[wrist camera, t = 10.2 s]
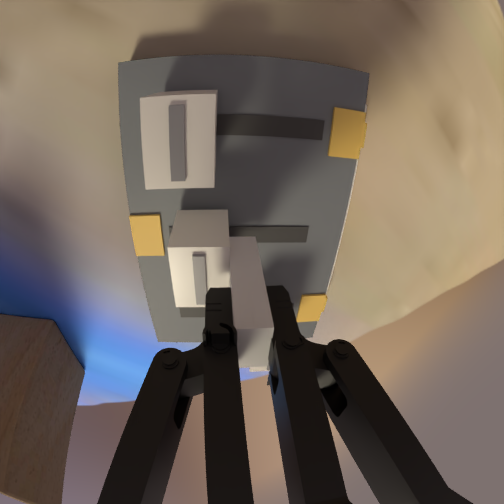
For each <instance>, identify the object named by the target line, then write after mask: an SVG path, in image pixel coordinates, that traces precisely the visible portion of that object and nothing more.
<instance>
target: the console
mask: <svg viewBox="0 0 504 504" xmlns="http://www.w3.org/2000/svg"><path fill="white" fill-rule="evenodd" d="M368 81H369V73H366V72H362V71H357V70H353V69H348V68H343V67H339V66H333V65H328V64H322V63H316V62H310V61H303V60H295V59H286V58H277V57H265V56H249V55H185V56H170V57H158V58H149V59H140V60H133V61H126V62H120V63H118V86H119V115H120V132H121V145H122V156H123V166H124V175H125V183H126V191H127V198H128V205H129V212H130V216H129V218H130V224H131V230H132V236H133V241H134V247H135V252H136V256H137V257H138V262H139V267H140V271H141V276H142V280H143V285H144V289H145V293H146V298H147V302H148V306H149V310H150V314H151V317H152V321H153V325H154V328H155V332H156V336H157V339H158V342H203V337H202V332H203V329H204V327H205V307H176V304H175V298H174V291H173V285H172V278H171V271H170V264H169V257H168V249H167V247H168V243H169V239H170V235H171V231H172V228H173V224H174V220H175V217H176V213H177V210H228V224H229V237H256V242H257V246H258V251H259V256H260V261H261V266H262V271H263V275H264V280H265V285H266V286H278V285H283V286H284V288H285V289H286V290H287V291H288V292H289V295H290V299H291V302H292V306H293V309H294V313H295V316H296V320H297V324H298V327H299V331H300V333H301V335H303V336H304V337H305V338H309V337H313V333H314V330H315V327H316V324H317V321H319V318H320V315H321V312H323V311H324V308H325V305H326V302H327V296H326V294H327V291H328V287H329V284H330V280H331V276H332V273H333V269H334V265H335V262H336V258H337V254H338V250H339V246H340V242H341V238H342V234H343V230H344V226H345V221H346V217H347V213H348V208H349V203H350V199H351V194H352V189H353V184H354V179H355V174H356V169H357V164H358V159H359V154H360V148H361V147H362V148H363V146H364V140H365V134H366V128H367V123H365V116H366V109H367V104H366V98H367V90H368ZM185 90H218V93H217V127H216V168H215V186H214V188H176V189H149V190H146V189H145V179H144V167H143V155H142V140H141V120H140V98H141V97H144V96H148V95H151V94H155V93H158V92H167V91H185Z"/></svg>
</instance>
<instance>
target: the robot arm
mask: <svg viewBox="0 0 504 504" xmlns="http://www.w3.org/2000/svg"><path fill="white" fill-rule="evenodd" d="M229 241H230V276H229V287H219V288H210V289H209V290H208V292H207V294H206V300H205V327H204V329H203V332H202V337H203V342H202V343H201V344H200V345H199V346H198V347H196V348H194V349H192V350H189V351H185V352H181V351H180V350H178V349H175V348H166V349H162V350H161V351H159V352H158V353H157V354H156V355H155V357H154V358H153V361H152V363H151V365H150V368H149V370H148V372H147V375H146V377H145V379H144V382H143V384H142V387H141V389H140V391H139V394H138V396H137V399H136V401H135V404H134V406H133V409H132V411H131V414H130V416H129V419H128V421H127V424H126V426H125V429H124V431H123V434H122V436H121V439H120V442H119V445H118V447H117V450H116V452H115V455H114V458H113V461H112V464H111V466H110V469H109V471H108V474H107V477H106V480H105V483H104V486H103V488H102V492H101V494H100V497H99V500H98V503H97V504H162V501H163V498H164V494H165V491H166V487H167V484H168V480H169V477H170V473H171V469H172V466H173V463H174V459H175V455H176V452H177V449H178V445H179V442H180V438H181V435H182V431H183V428H184V425H185V422H186V418H187V415H188V411H189V408H190V405H191V401H192V398H193V396H195V395H198V394H201V393H204V430H205V459H206V478H207V495H208V504H254V501H253V493H252V485H251V477H250V468H249V460H248V450H247V441H246V433H245V423H244V414H243V404H242V393H241V383H240V372H239V368H247V367H265V366H268V361H269V367H270V371H269V377H268V382H267V385H270V387H271V394H272V400H273V406H274V412H275V418H276V424H277V431H278V437H279V443H280V449H281V456H282V462H283V467H284V474H285V480H286V486H287V492H288V498H289V504H352V503H351V502H350V501H349V500H348V497H347V493H346V489H345V485H344V481H343V476H342V472H341V468H340V464H339V460H338V456H337V452H336V448H335V444H334V441H333V436H332V432H331V428H330V424H329V421H328V417H327V413H328V414H329V416H330V418H331V420H332V422H333V423H334V425H335V427H336V429H337V431H338V432H339V434H340V436H341V437H342V439H343V441H344V443H345V445H346V446H347V448H348V450H349V451H350V453H351V455H352V457H353V459H354V460H355V462H356V464H357V465H358V467H359V469H360V471H361V472H362V474H363V476H364V478H365V479H366V481H367V483H368V484H369V486H370V488H371V490H372V491H373V493H374V495H375V496H376V498H377V500H378V502H379V503H380V504H473V503H471V502H470V501H468V500H467V499H465V498H464V497H462V496H460V495H459V494H457V493H456V492H454V491H453V490H451V489H450V488H448V486H447V485H446V483H445V481H444V480H443V478H442V476H441V475H440V474H439V472H438V470H437V469H436V467H435V465H434V464H433V463H432V461H431V459H430V458H429V456H428V455H427V453H426V452H425V450H424V449H423V447H422V446H421V444H420V442H419V441H418V439H417V438H416V436H415V435H414V433H413V432H412V431H411V429H410V427H409V426H408V424H407V423H406V421H405V420H404V418H403V417H402V416H401V414H400V412H399V411H398V409H397V408H396V407H395V405H394V404H393V402H392V401H391V400H390V398H389V396H388V395H387V393H386V392H385V391H384V389H383V387H382V386H381V385H380V383H379V382H378V380H377V379H376V377H375V376H374V375H373V373H372V372H371V370H370V369H369V367H368V366H367V365H366V363H365V362H364V360H363V359H362V357H361V356H360V355H359V353H358V352H357V350H356V349H355V347H354V346H353V345H352V344H351V343H349V342H347V341H345V340H341V339H337V340H333V341H331V342H329V343H328V345H322V344H317V343H313V342H310V341H308V340H307V339H305V337H304V336H303V335H301V333H300V331H299V327H298V324H297V320H296V316H295V313H294V309H293V306H292V302H291V299H290V295H289V292H288V291H287V290H286V289H285V288H284V286H283V285H278V286H266V285H265V280H264V275H263V271H262V266H261V261H260V256H259V251H258V246H257V242H256V237H229ZM326 411H327V413H326Z"/></svg>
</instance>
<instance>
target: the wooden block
mask: <svg viewBox="0 0 504 504" xmlns="http://www.w3.org/2000/svg"><path fill="white" fill-rule="evenodd" d="M84 375H85V371H84V369H83V367H82V366H81V364H80V363H79V361H78V360H77V358H76V356H75V355H74V353H73V352H72V350H71V348H70V347H69V345H68V344H67V342H66V340H65V339H64V337H63V335H62V333H61V332H60V330H59V328H58V326H57V325H56V323H55V322H54V321H53V320H49V319H39V318H30V317H21V316H13V315H5V314H0V493H1V494H4V495H6V496H8V497H11V498H13V499H16V500H19V501H21V502H23V503H26V504H61V503H62V492H63V481H64V474H65V466H66V459H67V452H68V447H69V441H70V436H71V430H72V425H73V420H74V415H75V411H76V407H77V402H78V398H79V394H80V390H81V386H82V382H83V378H84Z"/></svg>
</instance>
